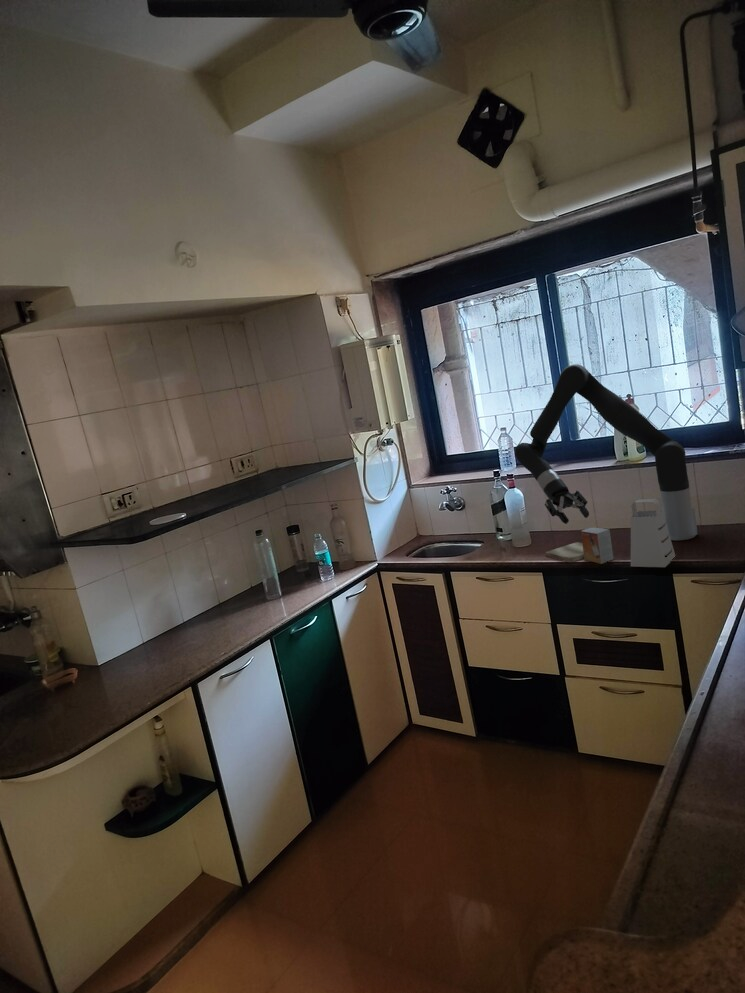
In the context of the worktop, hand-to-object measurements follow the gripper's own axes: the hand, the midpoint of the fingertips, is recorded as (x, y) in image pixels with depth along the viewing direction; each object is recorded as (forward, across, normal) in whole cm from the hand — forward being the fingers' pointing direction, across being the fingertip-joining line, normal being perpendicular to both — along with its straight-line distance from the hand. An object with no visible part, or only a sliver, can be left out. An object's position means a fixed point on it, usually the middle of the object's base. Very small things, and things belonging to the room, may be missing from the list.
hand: (577, 519), depth 229 cm
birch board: (+6, 0, +13) cm, 14 cm away
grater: (+27, +8, -8) cm, 29 cm away
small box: (+15, 0, +4) cm, 16 cm away
